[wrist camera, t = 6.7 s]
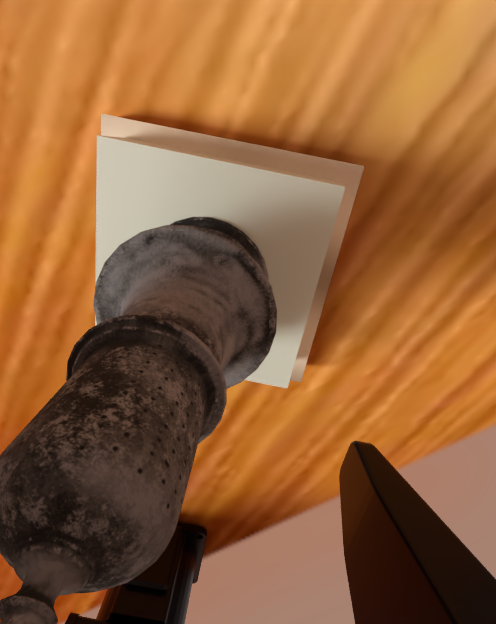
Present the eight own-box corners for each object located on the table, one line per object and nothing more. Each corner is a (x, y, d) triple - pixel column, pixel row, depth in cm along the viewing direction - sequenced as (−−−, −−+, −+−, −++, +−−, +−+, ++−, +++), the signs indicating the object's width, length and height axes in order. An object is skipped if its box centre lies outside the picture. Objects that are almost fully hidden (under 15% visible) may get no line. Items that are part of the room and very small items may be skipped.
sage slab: (285, 359, 19) (287, 388, 17) (116, 326, 19) (94, 350, 16) (334, 181, 15) (345, 186, 13) (123, 137, 15) (96, 135, 13)
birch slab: (298, 357, 22) (300, 382, 19) (117, 323, 21) (99, 344, 19) (352, 163, 17) (364, 166, 15) (124, 118, 17) (101, 113, 15)
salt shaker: (288, 221, 13) (363, 509, 2) (264, 354, 16) (247, 805, 5) (133, 197, 13) (-479, 382, 2) (132, 335, 16) (-183, 740, 5)
